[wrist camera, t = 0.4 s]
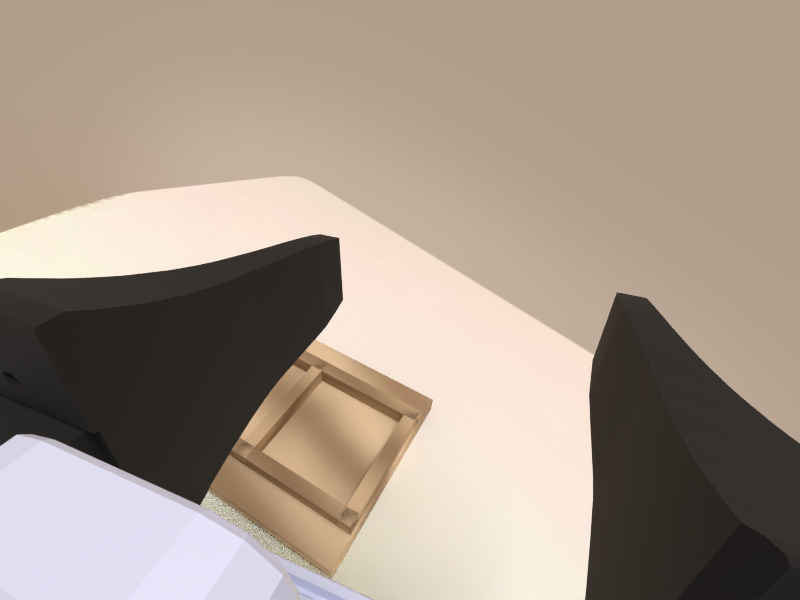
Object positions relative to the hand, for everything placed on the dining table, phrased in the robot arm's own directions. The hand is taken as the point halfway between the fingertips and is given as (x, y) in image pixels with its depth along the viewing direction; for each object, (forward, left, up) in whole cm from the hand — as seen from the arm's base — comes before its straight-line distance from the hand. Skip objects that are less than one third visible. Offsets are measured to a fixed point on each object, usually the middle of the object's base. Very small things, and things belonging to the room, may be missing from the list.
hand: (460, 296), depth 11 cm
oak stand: (+2, +10, -19) cm, 22 cm away
